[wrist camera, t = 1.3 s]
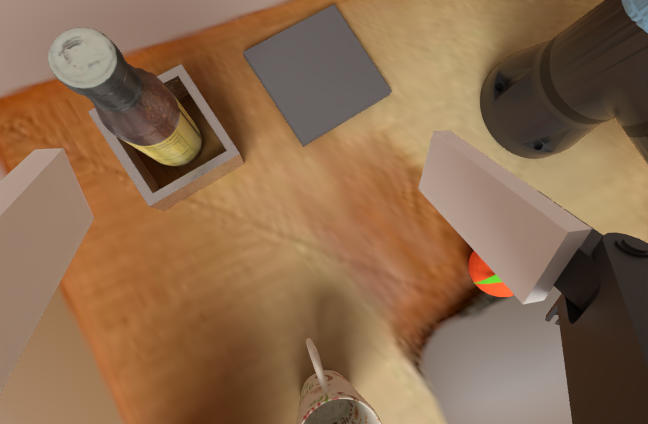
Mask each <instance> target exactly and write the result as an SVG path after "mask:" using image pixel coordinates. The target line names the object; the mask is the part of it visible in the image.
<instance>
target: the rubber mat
mask: <svg viewBox="0 0 648 424" xmlns="http://www.w3.org/2000/svg"><path fill="white" fill-rule="evenodd" d="M243 54H244V57H245V59H246V60H247V62H248V63H249V65H250V66H251V68H252V69H253V71H254V73H255V74H256V76H257V77H258V79H259V80H260V82H261V83H262V85H263V86H264V88H265V89H266V91H267V92H268V94H269V95H270V97H271V98H272V100H273V102H274V103H275V105H276V106H277V108H278V109H279V111H280V112H281V114H282V115H283V117H284V118H285V120H286V121H287V123H288V124H289V126H290V127H291V129H292V130H293V132H294V134H295V135H296V137H297V138H298V140H299V141H300V143H301V144H302V146H303V147H304V146H305V145H307V144H309V143H310V142H312V141H314V140H315V139H317V138H319V137H320V136H322V135H324V134H325V133H327V132H329V131H330V130H332V129H334V128H335V127H337V126H339V125H340V124H342V123H344V122H345V121H347V120H348V119H350V118H352V117H353V116H355V115H357V114H358V113H360V112H362V111H363V110H365V109H367V108H368V107H370V106H372V105H373V104H375V103H377V102H378V101H380V100H382V99H383V98H385V97H387V96H388V95H390V93H391V92H392V91H391V89H390V88H389V86H388V85H387V83H386V82H385V80H384V79H383V77H382V76H381V74H380V73H379V71H378V70H377V68H376V67H375V65H374V64H373V62H372V61H371V59H370V58H369V56H368V55H367V53H366V52H365V50H364V49H363V47H362V46H361V44H360V43H359V41H358V40H357V38H356V37H355V35H354V34H353V32H352V31H351V29H350V27H349V26H348V24H347V23H346V21H345V20H344V18H343V17H342V15H341V14H340V12H339V11H338V9H337V8H336V6H335V5H332V6H330V7H328V8H326V9H324V10H322V11H320V12H318V13H316V14H315V15H313V16H311V17H309V18H307V19H305V20H303V21H301V22H299V23H297V24H295V25H294V26H292V27H290V28H288V29H286V30H284V31H282V32H280V33H278V34H276V35H274V36H273V37H271V38H269V39H267V40H265V41H263V42H261V43H259V44H257V45H255V46H253V47H252V48H250V49H248V50H246V51H244V52H243Z"/></svg>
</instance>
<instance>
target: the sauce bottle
mask: <svg viewBox="0 0 648 424" xmlns="http://www.w3.org/2000/svg"><path fill="white" fill-rule="evenodd" d="M48 62H49V65H50V68H51V70H52V72H53V73H54V75H55V76H56V77H57V78H58V80H60V81H61V82H62V83H63V84H65V85H66V86H67V87H68V88H69V89H71V90H73V91H74V92H76V93H78V94H81V95H85V96H86V97H87V98H89V99H90V100H91V101H92V102H93V103H94V106H95V108H96V111H97V113H98V116H99V118H100V120H101V122H102V123H103V125H104V126H105V127H106V128H107V129H108V130H109V131H110V132H111V133H112V134H114V135H115V136H117V137H118V138H120V139H121V140H123V141H125V142H126V143H128V144H130V145H131V146H133V147H135V148H136V149H138V150H140V151H141V152H143V153H145V154H146V155H148V156H149V157H151V158H153V159H154V160H156V161H158V162H160V163H161V164H164V165H169V166H175V167H180V166H184V165H186V164H189V163H191V162H192V161H193V160H195V159H196V158H197V157H198V156H199V153H200V152H201V147H202V136H201V134H200V132H199V129H198V127H197V126H196V124H195V123H194V121H193V120H192V119H191V117H190V116H189V115H188V113H187V112H186V111H185V109H184V108H183V107H182V105H181V104H180V103H179V102H178V100H177V99H176V98H175V96H174V95H173V94H172V92H171V91H170V90H169V89H168V88H167V87H166V86H165V85H164V84H163V82H162V81H161V80H160V79H159V78H157V77H156V76H155V75H154V74H152V73H149V72H146V71H144V70H143V69H139V68H134V67H133V66H131V65H130V64H128V63H127V62H126V61H125V60H124V57H123V55H122V54H121V52H120V50H119V49H118V48H117V46H115V44H114V43H113V42H112V41H111V40H110V39H109V38H108V37H107V36H105V35H104V34H103V33H100V32H98V31H97V30H95V29H90V28H80V27H78V28H73V29H69V30H67V31H65V32H63V33H62V34H61V35H59V36H58V37H57V38H56V39H55V41H54V42H53V44H52V46H51V47H50V49H49V54H48Z"/></svg>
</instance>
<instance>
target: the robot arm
mask: <svg viewBox="0 0 648 424" xmlns="http://www.w3.org/2000/svg"><path fill="white" fill-rule="evenodd" d="M481 111H482V115H483V119H484V122H485V124H486V126H487V128H488V130H489V132H490V133H491V135H492V136H493V137H494V139H495V140H496V141H497V142H498V143H499V144H500V145H501V146H502V147H504V148H505V149H506V150H508V151H510V152H511V153H513V154H515V155H518V156H521V157H525V158H531V159H538V158H544V157H548V156H551V155H554V154H557V153H560V152H562V151H564V150H566V149H568V148H570V147H571V146H573V145H574V144H575V143H576V142H578V141H579V140H580V139H581V138H583V137H584V136H585V135H586V134H588V133H589V132H590V131H591V130H593V129H594V128H595V127H596V126H598V125H599V124H600V123H603V122H605V121H608V120H610V119H613V118H616V119H617V120H618V122H619V123H620V125H621V126H622V128H623V129H624V131H625V132H626V133H627V135H628V136H629V138H630V139H631V141H632V142H633V144H634V145H635V147H636V148H637V149H638V151H639V152H640V154H641V155H642V157H643V158H644V160H645V161H646V162H647V164H648V0H604V1H603V2H602V3H600V4H599V5H597V6H596V7H595V8H593V9H592V10H591V11H589V12H588V13H587V14H585V15H584V16H583V17H581V18H580V19H579V20H577V21H576V22H575V23H573V24H572V25H571V26H569V27H568V28H567V29H565V30H564V31H563V32H561V33H560V34H559V35H557V36H556V37H555V38H553V39H552V40H550V41H547V42H544V43H541V44H538V45H536V46H533V47H530V48H527V49H524V50H522V51H519V52H516V53H514V54H513V55H511V56H509V57H508V58H506V59H505V60H504V61H502V62H501V63H500V64H499V65H498V66H496V67H495V68H494V69H493V70H492V71H491V72H490V74H489V75H488V77H487V78H486V80H485V82H484V85H483V88H482V92H481ZM418 189H419V190H420V191H421V193H422V194H423V195H424V196H425V197H426V198H427V199H428V200H429V201H430V202H431V204H432V205H433V206H434V207H435V208H436V209H437V210H438V211H439V212H440V213H441V215H442V216H443V217H444V218H445V219H446V220H447V221H448V222H449V223H450V224H451V226H452V227H453V228H454V229H455V230H456V231H457V232H458V233H459V234H460V236H461V237H462V238H463V239H464V240H465V241H466V242H467V243H468V244H469V245H470V247H471V248H472V249H473V250H474V251H475V252H476V253H477V254H478V255H479V256H480V258H481V259H482V260H483V261H484V262H485V263H486V264H487V265H488V266H489V267H490V269H491V270H492V271H493V272H494V273H495V274H496V275H497V276H498V277H499V278H500V280H501V281H502V282H503V283H504V284H505V285H506V286H507V287H508V288H509V289H510V291H511V292H512V293H513V294H514V295H515V296H516V297H517V298H518V299H519V300H520V302H521V303H522V304H527V303H532V302H538V301H543V300H544V299H545V298H546V297H547V295H548V294H549V292H550V290H551V289H552V287H553V286H555V287H556V288H557V289H558V290H559V291H560V292H561V293H562V294H561V295H560V297H559V298H558V300H557V301H556V302H555V304H554V305H553V307H552V308H551V310H550V311H549V312H548V314H547V315H546V319H545V320H546V321H550V320H551V319H552V317H553V316H554V315H558V316H559V319H558V320H557V321H556V323H555V324H557V325H560V332H561V339H562V347H563V355H564V362H565V370H566V377H567V385H568V393H569V401H570V408H571V416H572V423H573V424H648V243H646V242H644V241H642V240H640V239H638V238H635V237H632V236H629V235H626V234H621V233H607V234H605V235H602V234H600V233H599V232H598V231H596V230H595V229H593V228H592V227H590V226H589V225H587V224H586V223H584V222H583V221H582V220H580V219H579V218H577V217H576V216H574V215H573V214H571V213H570V212H568V211H567V210H565V209H563V208H562V207H561V206H560V205H558V204H557V203H555V202H553V201H552V200H551V199H549V198H548V197H547V196H545V195H544V194H542V193H541V192H539V191H537V190H535V189H534V188H532V187H531V186H530V185H528V184H527V183H525V182H524V181H522V180H521V179H519V178H518V177H516V176H515V175H514V174H512V173H511V172H509V171H508V170H506V169H505V168H503V167H502V166H501V165H499V164H498V163H496V162H495V161H493V160H492V159H490V158H489V157H487V156H486V155H485V154H483V153H482V152H480V151H479V150H477V149H476V148H474V147H473V146H471V145H470V144H469V143H467V142H466V141H464V140H463V139H461V138H460V137H458V136H457V135H455V134H454V133H453V132H451V131H433V134H432V138H431V142H430V146H429V150H428V153H427V157H426V161H425V165H424V169H423V173H422V177H421V180H420V184H419V188H418ZM93 219H94V217H93V214H92V212H91V210H90V208H89V205H88V203H87V201H86V199H85V196H84V194H83V192H82V189H81V187H80V185H79V183H78V180H77V178H76V176H75V174H74V171H73V169H72V167H71V165H70V162H69V160H68V158H67V156H66V153H65V151H64V149H63V148H56V149H35V150H34V151H33V152H32V153H31V154H29V155H28V156H27V157H26V158H25V159H24V160H23V161H22V162H21V163H20V164H19V165H18V166H16V167H15V168H14V169H13V170H12V171H11V172H10V173H9V174H8V175H7V176H6V177H5V178H3V179H2V180H1V181H0V394H1V392H2V390H3V388H4V386H5V384H6V383H7V381H8V379H9V377H10V375H11V373H12V371H13V369H14V368H15V366H16V364H17V362H18V360H19V358H20V356H21V354H22V352H23V351H24V349H25V347H26V345H27V343H28V341H29V339H30V337H31V335H32V334H33V332H34V330H35V328H36V326H37V324H38V323H39V321H40V319H41V317H42V315H43V313H44V311H45V309H46V308H47V306H48V304H49V302H50V300H51V298H52V296H53V294H54V293H55V291H56V289H57V287H58V285H59V283H60V281H61V279H62V278H63V276H64V274H65V272H66V270H67V268H68V266H69V264H70V263H71V261H72V259H73V257H74V255H75V253H76V251H77V249H78V248H79V246H80V244H81V242H82V240H83V238H84V236H85V234H86V233H87V231H88V229H89V227H90V225H91V223H92V221H93Z"/></svg>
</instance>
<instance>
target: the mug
mask: <svg viewBox="0 0 648 424" xmlns="http://www.w3.org/2000/svg"><path fill="white" fill-rule="evenodd" d="M306 344H307V348H308V351H309V354H310V357H311V360H312V363H313V366H314V369H315V372H316V373H314V374H313V375H311V376H310V377H309V378H308V379H307V380H306V382H305V383H304V385H303V388H302V391H301V396H300V403H299V410H298V417H297V424H382V423H381V421H380V419H379V417H378V415H377V414H376V412H375V411H374V409H373V408H372V407H371V406H370V405H369V404H368V403H367V401H366V400H365V399H364V398H363V397H362V396H361V395H360V394H359V393H358V392H357V391H356V390H355V389H354V388H353V386H352V385H351V384H350V383H349V382H348V381H347V380H346V379H345V378H344V377H343V376H342V375H341V374H339V373H337V372H335V371H332V370H323V368H322V364H321V361H320V357H319V354H318V351H317V349H316V347H315V345H314V343H313V341H312V340H311V338H307V339H306Z"/></svg>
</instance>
